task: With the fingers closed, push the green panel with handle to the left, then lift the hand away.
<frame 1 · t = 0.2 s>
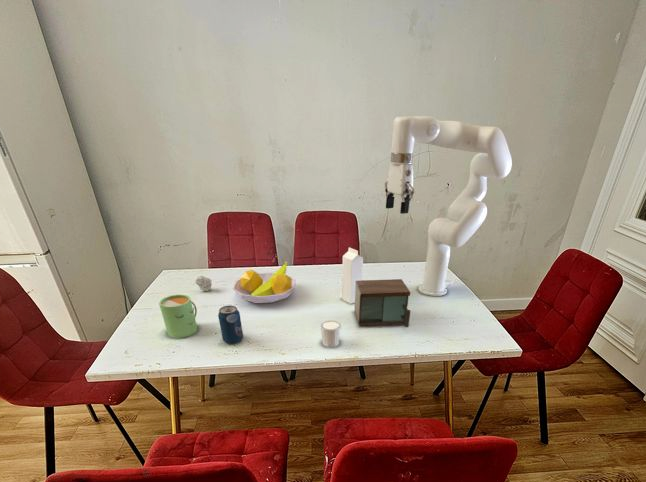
hand: (396, 210, 133), 37 cm above the table, tool pointing down, fingers open, 9 cm apart
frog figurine: (205, 291, 160), on the table
mug: (186, 329, 130), on the table
shot glass: (330, 343, 123), on the table
soda can: (233, 340, 124), on the table
milk: (351, 300, 153), on the table
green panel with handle: (397, 312, 128), point 7 cm above the table, slide at 0.0 cm
fruit bowl: (268, 296, 156), on the table
cabinet: (379, 317, 140), on the table
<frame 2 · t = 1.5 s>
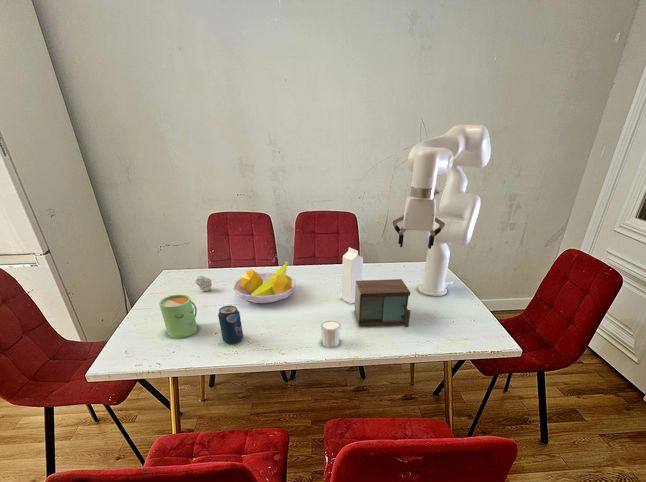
hand: (415, 246, 123), 28 cm above the table, tool pointing down, fingers open, 9 cm apart
nothing on the table moved.
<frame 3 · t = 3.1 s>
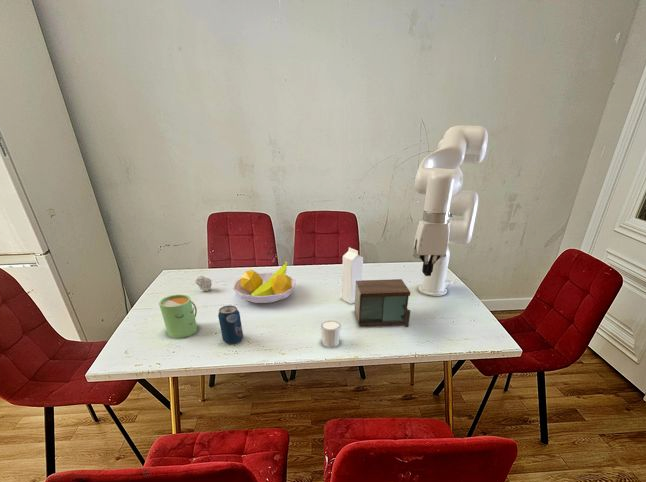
hand: (426, 274, 118), 22 cm above the table, tool pointing down, fingers closed
nothing on the table moved.
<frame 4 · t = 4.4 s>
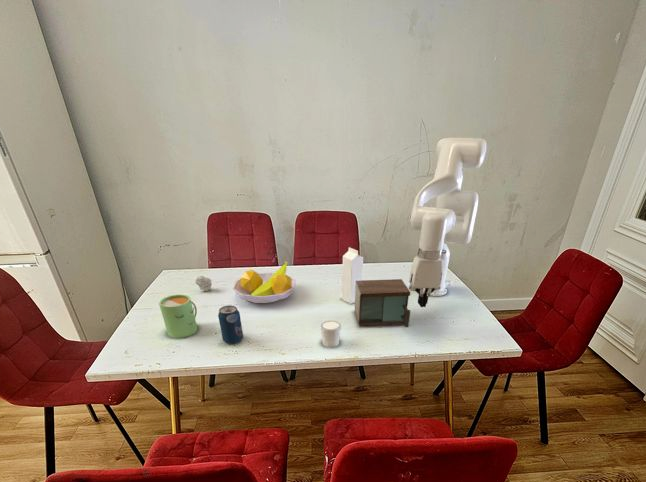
hand: (422, 305, 124), 11 cm above the table, tool pointing down, fingers closed
nothing on the table moved.
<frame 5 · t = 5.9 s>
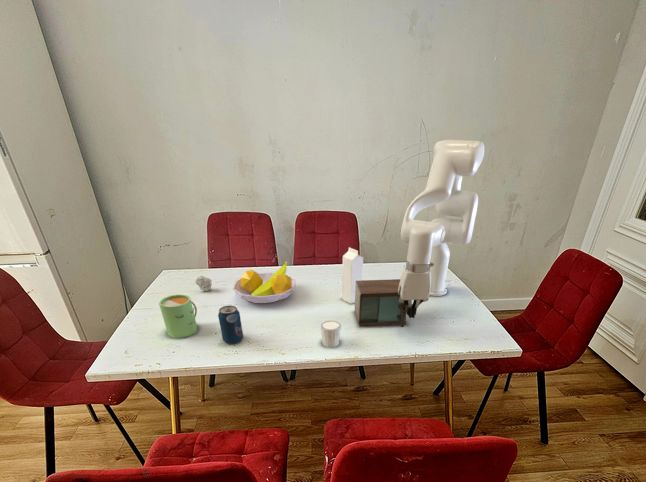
hand: (410, 316, 126), 7 cm above the table, tool pointing down, fingers closed
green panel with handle: (392, 312, 128), point 7 cm above the table, slide at 1.6 cm, touching gripper
everything else where it was.
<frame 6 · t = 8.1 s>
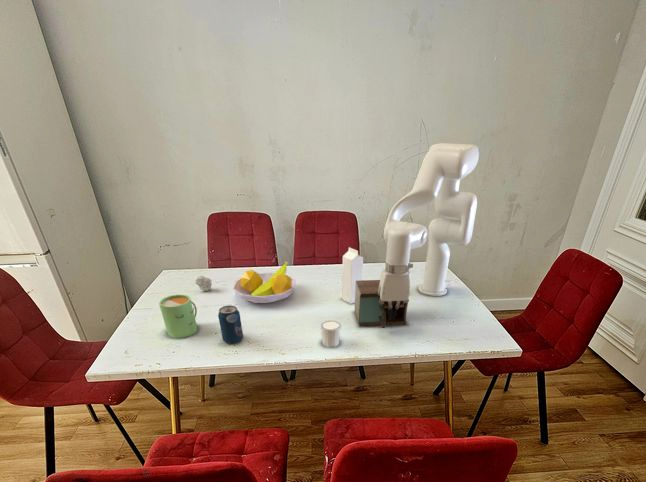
hand: (391, 317, 126), 6 cm above the table, tool pointing down, fingers closed
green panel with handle: (373, 313, 128), point 7 cm above the table, slide at 8.6 cm, touching gripper
everything else where it was.
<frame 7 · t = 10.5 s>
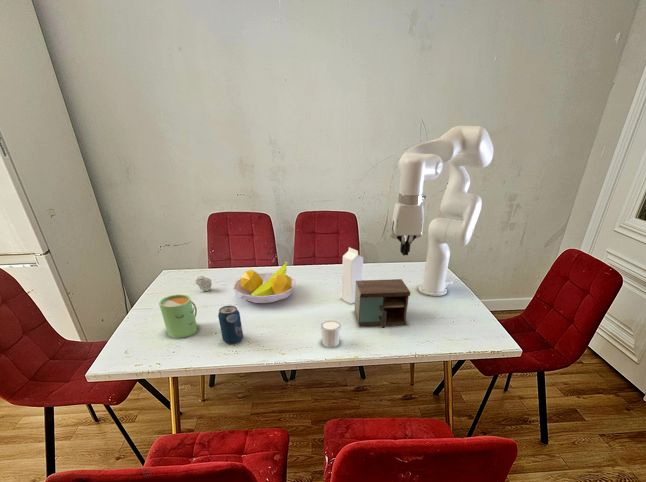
hand: (404, 254, 127), 25 cm above the table, tool pointing down, fingers closed
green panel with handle: (373, 313, 128), point 7 cm above the table, slide at 8.6 cm
everything else where it was.
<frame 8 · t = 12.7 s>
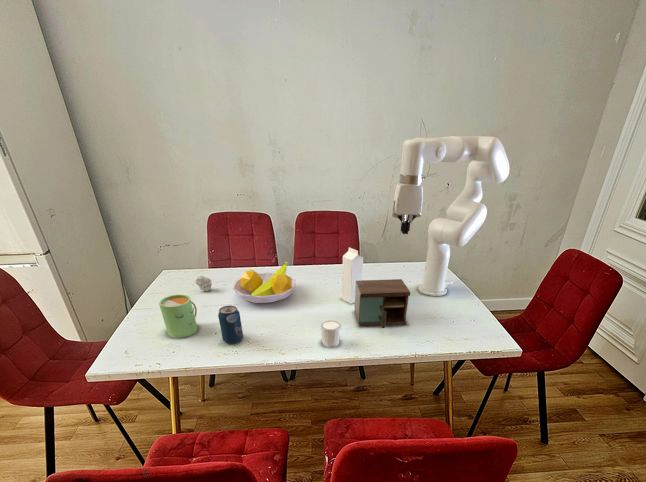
hand: (404, 233, 135), 29 cm above the table, tool pointing down, fingers closed
nothing on the table moved.
at the end: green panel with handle slide at 8.6 cm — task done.
